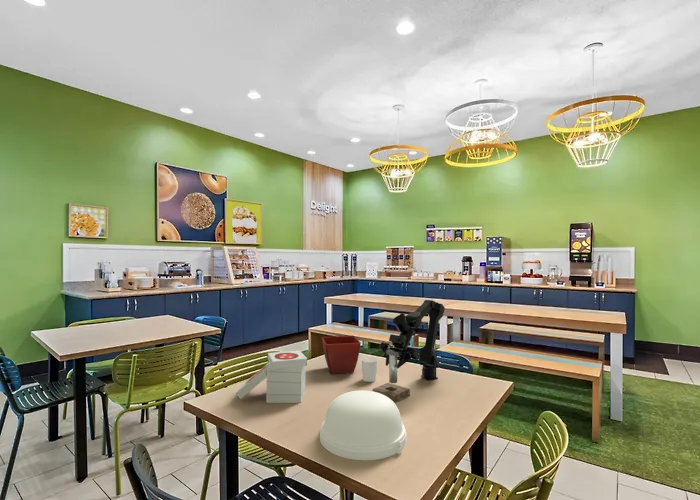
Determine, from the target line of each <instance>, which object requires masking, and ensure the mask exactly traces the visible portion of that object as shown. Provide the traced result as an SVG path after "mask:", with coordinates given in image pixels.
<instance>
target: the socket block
mask: <svg viewBox="0 0 700 500" xmlns="http://www.w3.org/2000/svg"><path fill="white" fill-rule="evenodd" d="M372 391H373V392H377V393H380V394H383V395H385V396H387V397H388V398H390V399H391V400H392V401H393V402H394V403H395V404H396V403H397V402H399V401H401V400H404V399H406V398H408V397H409V396H411V388H409V387H406V386H401V385H398V384H396V383H390V382H386V383H384V384H381V385H379V386H377V387H374V388H372Z"/></svg>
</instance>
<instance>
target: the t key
mask: <svg viewBox="0 0 700 500" xmlns="http://www.w3.org/2000/svg"><path fill="white" fill-rule="evenodd" d="M386 354H388V355H389V364H388V370H389V371H388V373H389V374H388V377H389V379H388V380H389V382H388V383H392V384H397V383H398V369H397V364H398V357H401V353H400V352H399V351H394V350H386V353H385V355H386Z"/></svg>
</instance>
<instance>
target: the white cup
mask: <svg viewBox="0 0 700 500" xmlns="http://www.w3.org/2000/svg"><path fill="white" fill-rule="evenodd" d="M361 372H362V373H361V374H362V381H364V382H367V383H372V382H376V381H377V374H378V373H377V372H378V359H376V358H373V357H365V358H362V359H361Z"/></svg>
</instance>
